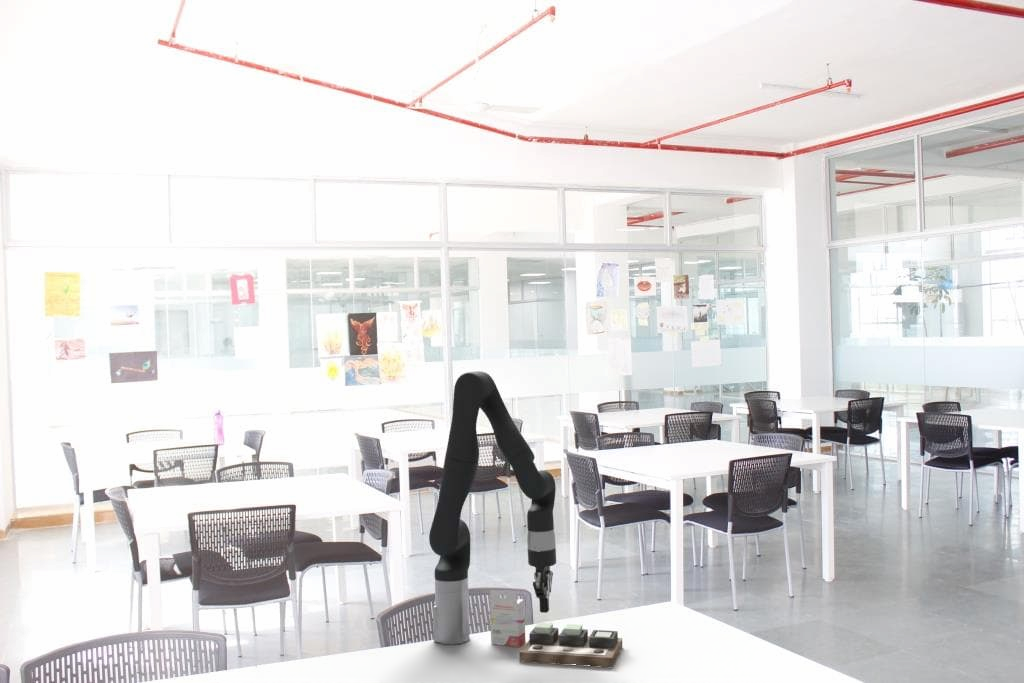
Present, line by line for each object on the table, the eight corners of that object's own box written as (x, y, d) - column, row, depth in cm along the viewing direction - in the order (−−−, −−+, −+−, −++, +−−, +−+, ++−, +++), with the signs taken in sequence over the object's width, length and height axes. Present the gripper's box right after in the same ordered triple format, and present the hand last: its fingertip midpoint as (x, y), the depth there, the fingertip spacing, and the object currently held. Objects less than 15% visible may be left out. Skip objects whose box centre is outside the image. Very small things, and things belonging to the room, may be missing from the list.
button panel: (519, 661, 239) (519, 642, 239) (535, 642, 255) (534, 624, 255) (612, 667, 233) (611, 647, 233) (622, 647, 248) (621, 628, 248)
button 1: (534, 634, 247) (534, 627, 247) (538, 630, 251) (538, 622, 251) (549, 635, 246) (549, 627, 246) (553, 630, 250) (552, 623, 250)
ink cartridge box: (526, 642, 255) (524, 588, 255) (519, 647, 251) (518, 592, 251) (497, 639, 258) (496, 585, 259) (490, 644, 254) (488, 590, 254)
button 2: (594, 643, 243) (594, 636, 243) (597, 639, 246) (597, 631, 246) (609, 644, 241) (609, 637, 242) (612, 640, 245) (612, 632, 245)
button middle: (564, 636, 245) (564, 628, 245) (567, 631, 249) (567, 624, 249) (579, 637, 244) (579, 629, 244) (582, 632, 248) (582, 625, 248)
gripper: (534, 541, 256) (537, 604, 256) (521, 551, 243) (524, 618, 243) (560, 541, 254) (563, 605, 254) (549, 552, 241) (552, 619, 241)
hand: (544, 611), depth 248 cm, fingers closed
